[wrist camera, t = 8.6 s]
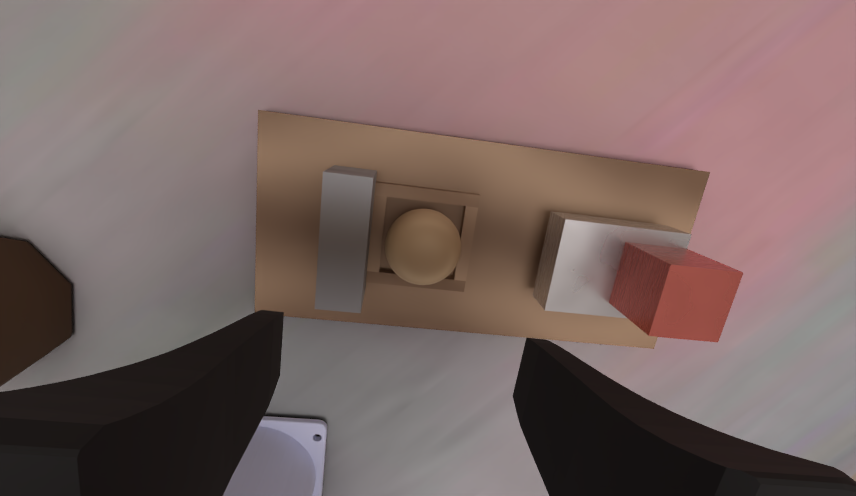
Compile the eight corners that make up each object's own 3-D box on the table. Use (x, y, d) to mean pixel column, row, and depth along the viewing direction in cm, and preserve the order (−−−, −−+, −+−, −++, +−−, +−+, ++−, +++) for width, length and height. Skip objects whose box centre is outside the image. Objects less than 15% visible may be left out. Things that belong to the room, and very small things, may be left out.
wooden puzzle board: (641, 338, 24) (690, 380, 20) (262, 303, 22) (231, 343, 18) (693, 169, 22) (760, 179, 18) (266, 111, 19) (231, 106, 15)
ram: (642, 306, 21) (712, 357, 17) (532, 295, 21) (572, 345, 16) (666, 225, 20) (749, 255, 15) (551, 211, 20) (600, 237, 15)
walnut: (450, 273, 21) (460, 300, 18) (382, 266, 21) (379, 293, 17) (460, 206, 20) (473, 222, 17) (389, 198, 20) (388, 212, 16)
